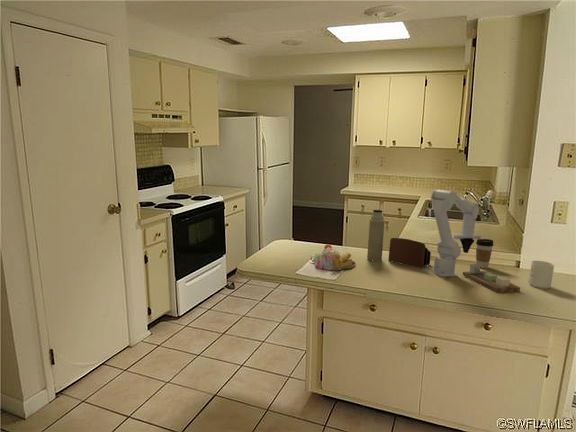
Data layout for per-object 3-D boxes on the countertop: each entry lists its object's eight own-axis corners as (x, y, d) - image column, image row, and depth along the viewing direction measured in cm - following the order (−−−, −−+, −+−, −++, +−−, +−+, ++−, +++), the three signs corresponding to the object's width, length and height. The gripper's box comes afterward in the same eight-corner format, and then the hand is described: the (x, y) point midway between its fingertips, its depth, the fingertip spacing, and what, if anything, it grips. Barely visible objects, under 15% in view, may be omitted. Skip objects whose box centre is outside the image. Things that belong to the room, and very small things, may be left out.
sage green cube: (489, 283, 186) (489, 276, 185) (483, 280, 190) (484, 273, 189) (496, 283, 187) (497, 275, 186) (490, 280, 191) (491, 273, 190)
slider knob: (474, 274, 193) (475, 266, 193) (469, 272, 197) (470, 264, 196) (479, 274, 194) (480, 266, 193) (474, 271, 197) (475, 264, 197)
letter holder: (422, 269, 209) (425, 242, 206) (387, 261, 221) (389, 236, 219) (429, 265, 216) (432, 239, 214) (395, 257, 229) (397, 233, 226)
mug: (554, 290, 182) (558, 266, 180) (534, 288, 183) (537, 265, 181) (540, 281, 194) (543, 259, 192) (521, 280, 194) (524, 258, 193)
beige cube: (501, 287, 178) (502, 280, 178) (495, 284, 182) (496, 277, 181) (509, 287, 179) (510, 279, 178) (502, 284, 183) (503, 276, 182)
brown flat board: (496, 292, 176) (497, 288, 175) (462, 275, 199) (463, 271, 198) (519, 291, 178) (520, 286, 178) (483, 274, 201) (484, 270, 201)
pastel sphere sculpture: (363, 265, 212) (364, 248, 210) (338, 274, 195) (339, 256, 193) (325, 256, 228) (326, 240, 227) (299, 263, 211) (299, 247, 209)
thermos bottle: (379, 257, 227) (383, 209, 222) (383, 261, 219) (386, 211, 214) (365, 257, 227) (369, 208, 222) (368, 261, 219) (372, 210, 214)
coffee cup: (492, 269, 211) (496, 242, 208) (475, 268, 212) (478, 240, 210) (488, 265, 219) (491, 238, 216) (471, 264, 221) (474, 237, 218)
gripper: (460, 228, 200) (457, 254, 202) (486, 228, 203) (483, 254, 205) (452, 225, 207) (449, 251, 209) (476, 225, 210) (474, 250, 212)
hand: (465, 252), depth 207 cm, fingers closed
